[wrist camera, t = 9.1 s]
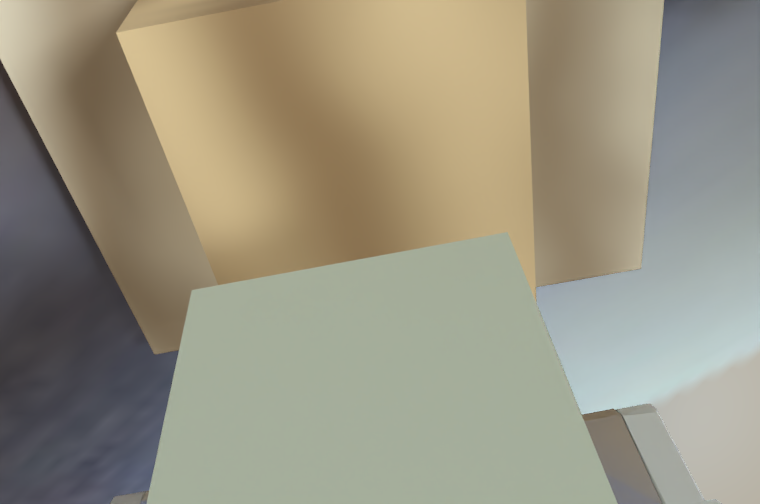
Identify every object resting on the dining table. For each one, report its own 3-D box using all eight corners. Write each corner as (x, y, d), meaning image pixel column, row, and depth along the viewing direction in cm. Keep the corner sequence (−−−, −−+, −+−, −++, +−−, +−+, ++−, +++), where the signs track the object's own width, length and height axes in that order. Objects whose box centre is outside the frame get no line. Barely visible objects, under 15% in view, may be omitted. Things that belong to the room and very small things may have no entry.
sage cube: (507, 231, 11) (627, 529, 7) (520, 434, 14) (608, 722, 10) (191, 289, 11) (123, 614, 7) (273, 477, 14) (259, 779, 10)
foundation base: (670, -290, 16) (824, -301, 11) (630, 252, 25) (704, 371, 21) (-79, -136, 16) (-239, -84, 12) (159, 335, 26) (125, 469, 21)
